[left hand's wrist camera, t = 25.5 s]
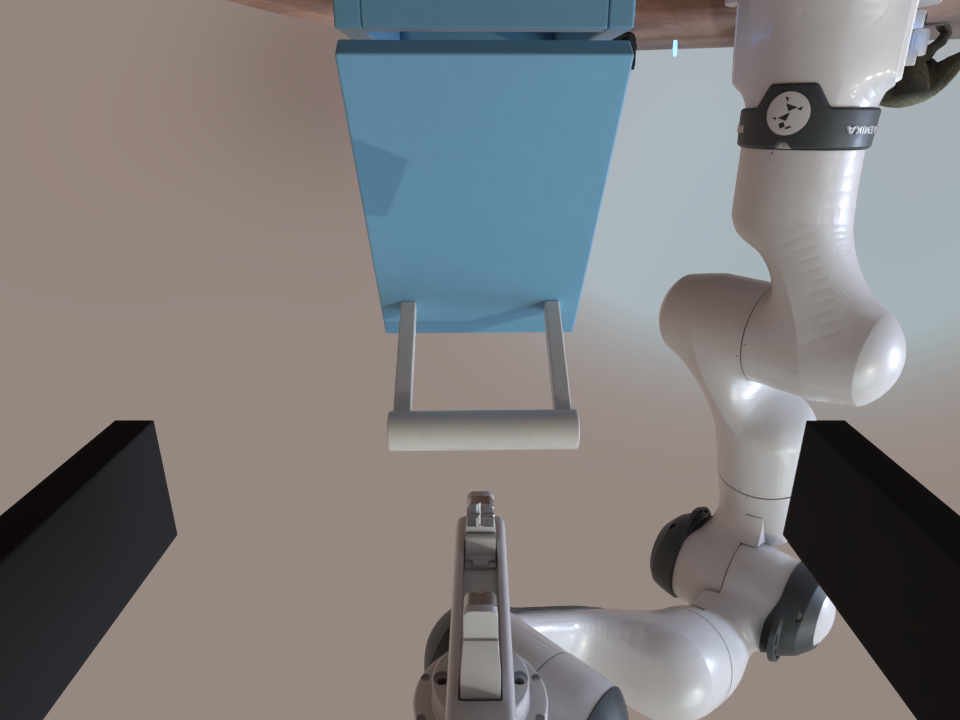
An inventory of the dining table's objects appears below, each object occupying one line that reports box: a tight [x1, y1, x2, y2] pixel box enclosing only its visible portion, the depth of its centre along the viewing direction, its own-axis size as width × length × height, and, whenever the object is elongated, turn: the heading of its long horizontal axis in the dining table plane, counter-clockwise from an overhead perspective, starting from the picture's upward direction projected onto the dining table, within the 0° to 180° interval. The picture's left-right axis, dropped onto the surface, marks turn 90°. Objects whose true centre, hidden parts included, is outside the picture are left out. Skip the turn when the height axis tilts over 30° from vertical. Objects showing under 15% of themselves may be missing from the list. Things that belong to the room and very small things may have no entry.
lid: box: [335, 40, 634, 451], centre depth 24 cm, size 15×10×8 cm
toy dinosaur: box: [879, 24, 960, 108], centre depth 87 cm, size 22×8×11 cm, turn 122°
